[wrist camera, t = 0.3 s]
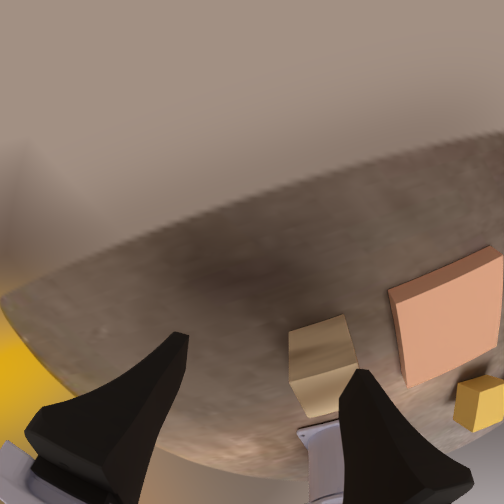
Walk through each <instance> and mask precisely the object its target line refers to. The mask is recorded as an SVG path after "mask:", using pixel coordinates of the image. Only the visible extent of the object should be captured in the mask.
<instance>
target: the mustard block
mask: <svg viewBox="0 0 504 504" xmlns="http://www.w3.org/2000/svg"><path fill="white" fill-rule="evenodd" d="M503 416H504V380H502V379H499V378H496V377H493V376H490V375H484V376H480V377H477V378H474V379H470V380H467V381H463V382H459V383H458V386H457V394H456V402H455V409H454V415H453V420H454V421H456V422H457V423H459V424H460V425H462V426H463V427H465V428H466V429H468V430H469V431H471V432H472V433H473V432H476V431H478V430H481V429H483V428H486V427H488V426H490V425H493V424H495V423H497V422H500V421H502V420H503Z"/></svg>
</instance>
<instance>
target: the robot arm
mask: <svg viewBox="0 0 504 504" xmlns="http://www.w3.org/2000/svg"><path fill="white" fill-rule="evenodd" d="M188 342H189V335H186V334H182V333H179V332H173V333H172V334H171V335H170V336H169V337H168V338H167V339H166V340H165V341H164V342H163V343H162V344H161V345H159V346H158V347H157V348H156V349H155V350H154V351H153V352H152V353H150V354H149V355H148V356H147V357H146V358H144V359H143V360H142V361H141V362H139V363H138V364H137V365H135V366H134V367H132V368H131V369H130V370H128V371H127V372H125V373H124V374H122V375H121V376H119V377H118V378H116V379H114V380H113V381H111V382H109V383H107V384H105V385H103V386H101V387H99V388H97V389H95V390H93V391H91V392H89V393H86V394H84V395H81V396H78V397H76V398H73V399H70V400H67V401H64V402H60V403H56V404H52V405H48V406H44V407H42V408H41V409H40V410H39V411H38V412H37V413H36V414H35V416H34V417H33V419H32V420H31V421H30V423H29V424H28V426H27V427H26V429H25V430H24V433H25V437H26V438H27V440H28V442H29V443H30V444H31V446H32V447H33V448H34V450H35V451H36V452H37V454H38V457H37V458H36V460H34V459H33V458H32V457H31V456H30V455H28V454H27V453H25V452H24V451H23V450H21V449H20V448H18V447H17V446H15V445H14V444H13V443H11V442H10V441H7V440H6V441H5V443H4V445H3V446H2V448H1V449H0V499H1V500H2V501H3V502H4V503H6V504H138V501H139V498H140V494H141V490H142V486H143V482H144V479H145V475H146V472H147V468H148V465H149V462H150V458H151V455H152V452H153V449H154V446H155V443H156V440H157V437H158V434H159V432H160V429H161V427H162V425H163V423H164V421H165V418H166V416H167V414H168V412H169V410H170V408H171V406H172V403H173V401H174V399H175V397H176V395H177V393H178V390H179V388H180V385H181V382H182V379H183V376H184V373H185V369H186V360H187V351H188ZM297 435H298V437H299V438H300V440H301V441H302V443H303V444H304V446H305V447H306V449H307V450H308V460H309V503H306V504H451V503H452V502H454V501H455V500H457V499H458V498H459V497H461V496H463V495H464V494H465V493H467V492H468V491H469V490H470V489H471V488H472V487H473V485H474V481H473V477H472V474H471V471H470V469H469V468H467V467H466V466H463V465H462V464H460V463H458V462H456V461H454V460H453V459H451V458H450V457H448V456H447V455H445V454H444V453H442V452H441V451H440V450H438V449H437V448H436V447H434V446H433V445H432V444H431V443H430V442H428V441H427V440H426V439H425V438H424V437H423V436H422V435H421V434H420V433H419V432H418V431H417V430H416V429H415V428H414V427H413V426H412V425H411V424H410V423H409V422H408V421H407V420H406V418H405V417H404V416H403V415H402V414H401V413H400V411H399V410H398V409H397V407H396V406H395V405H394V404H393V402H392V401H391V400H390V398H389V397H388V396H387V394H386V393H385V391H384V390H383V389H382V387H381V386H380V384H379V383H378V382H377V380H376V379H375V378H374V376H373V375H372V374H371V372H370V371H369V370H364V369H356V370H355V372H354V374H353V375H352V377H351V379H350V381H349V382H348V384H347V386H346V387H345V389H344V390H343V392H342V394H341V395H340V397H339V420H336V421H332V422H328V423H324V424H320V425H316V426H311V427H307V428H302V429H299V430H297Z"/></svg>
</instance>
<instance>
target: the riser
mask: <svg viewBox="0 0 504 504" xmlns="http://www.w3.org/2000/svg"><path fill="white" fill-rule="evenodd" d="M502 289H503V255H502V254H501V253H500V252H498V251H497V250H496V249H494V248H493V247H491V246H488V247H486V248H484V249H482V250H479V251H477V252H475V253H473V254H471V255H469V256H467V257H465V258H462V259H460V260H458V261H456V262H454V263H451V264H449V265H447V266H445V267H442V268H440V269H438V270H435V271H433V272H431V273H428V274H426V275H424V276H421V277H419V278H416V279H414V280H411V281H409V282H407V283H404V284H402V285H399V286H397V287H394V288H391V289H389V290H388V294H389V299H390V304H391V309H392V314H393V320H394V325H395V331H396V337H397V343H398V350H399V357H400V364H401V372H402V376H403V378H404V381H405V384H406V386H407V389H408V388H410V387H413V386H415V385H418V384H420V383H423V382H425V381H427V380H430V379H432V378H434V377H437V376H439V375H441V374H443V373H445V372H448V371H450V370H452V369H454V368H456V367H458V366H460V365H462V364H464V363H466V362H468V361H470V360H472V359H474V358H476V357H478V356H479V355H481V354H483V353H485V352H487V351H489V350H490V349H492V348H494V347H496V346H497V339H498V332H499V324H500V315H501V304H502Z"/></svg>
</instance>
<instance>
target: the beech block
mask: <svg viewBox="0 0 504 504" xmlns="http://www.w3.org/2000/svg"><path fill="white" fill-rule="evenodd" d="M356 369H360V368H359V364H358V360H357V357H356V353H355V349H354V346H353V343H352V339H351V336H350V333H349V329H348V326H347V323H346V320H345V316H344V314H343V315H340V316H337V317H334V318H331V319H328V320H325V321H322V322H319V323H316V324H312V325H309V326H306V327H303V328H300V329H296V330H293V331H290V332H289V384H290V385H291V387H292V389H293V391H294V393H295V395H296V397H297V398H298V400H299V402H300V404H301V406H302V408H303V409H304V411H305V413H306V415H307V417H308V418H312V417H316V416H321V415H325V414H328V413H332V412H336V411H339V397H340V395H341V394H342V392H343V390H344V389H345V387H346V386H347V384H348V382H349V381H350V379H351V377H352V375H353V374H354V372H355V370H356Z"/></svg>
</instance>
